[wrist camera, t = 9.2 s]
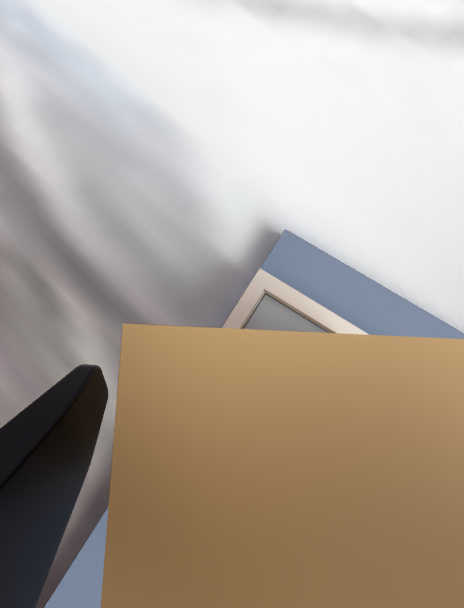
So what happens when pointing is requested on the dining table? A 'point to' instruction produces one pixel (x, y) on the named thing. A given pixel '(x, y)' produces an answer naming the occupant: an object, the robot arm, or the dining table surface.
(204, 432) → the pillar block
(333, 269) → the board
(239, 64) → the dining table surface
